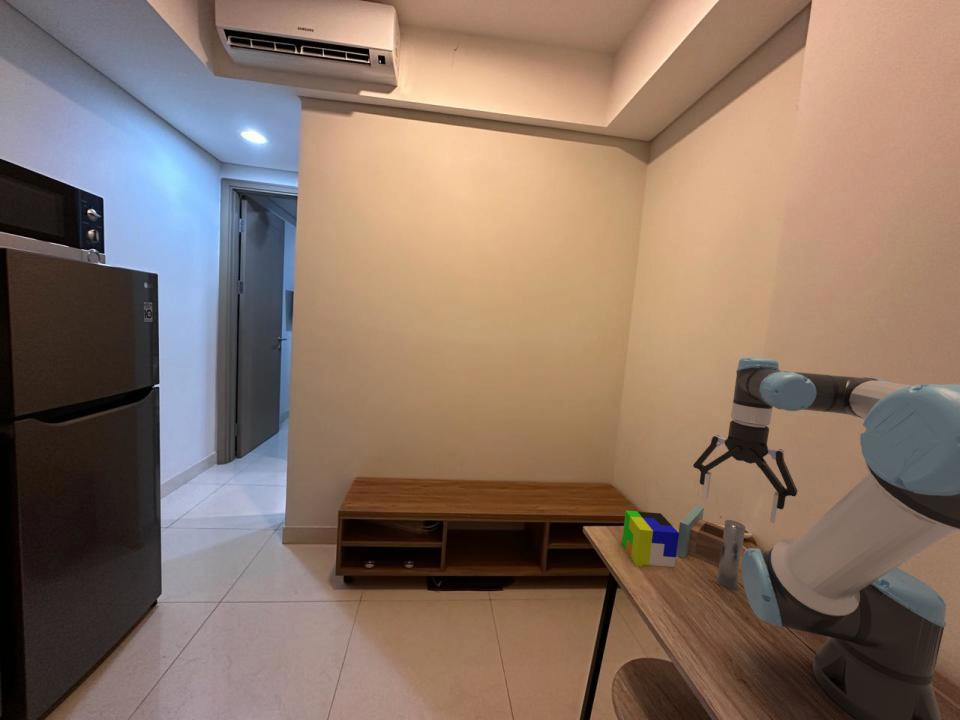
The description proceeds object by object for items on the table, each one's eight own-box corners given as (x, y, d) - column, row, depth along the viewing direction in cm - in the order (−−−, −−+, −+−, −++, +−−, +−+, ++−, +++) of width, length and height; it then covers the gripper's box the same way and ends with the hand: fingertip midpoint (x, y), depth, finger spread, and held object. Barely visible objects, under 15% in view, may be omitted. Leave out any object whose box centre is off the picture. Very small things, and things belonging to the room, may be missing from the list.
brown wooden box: (725, 569, 96) (729, 544, 95) (687, 553, 102) (690, 529, 102) (732, 556, 102) (736, 532, 102) (696, 541, 109) (699, 518, 108)
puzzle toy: (674, 569, 96) (678, 532, 95) (635, 566, 96) (640, 529, 95) (656, 546, 106) (660, 513, 105) (621, 543, 106) (625, 510, 105)
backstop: (762, 596, 88) (768, 556, 87) (675, 556, 101) (679, 522, 100) (771, 568, 99) (777, 532, 98) (692, 536, 113) (696, 504, 112)
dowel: (734, 594, 88) (743, 530, 86) (715, 585, 90) (723, 523, 89) (737, 587, 90) (746, 525, 89) (718, 578, 93) (727, 518, 92)
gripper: (821, 433, 81) (806, 525, 83) (695, 409, 98) (685, 486, 100) (820, 439, 75) (804, 537, 77) (686, 413, 93) (676, 493, 95)
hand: (737, 508), depth 89 cm, fingers open, 13 cm apart
